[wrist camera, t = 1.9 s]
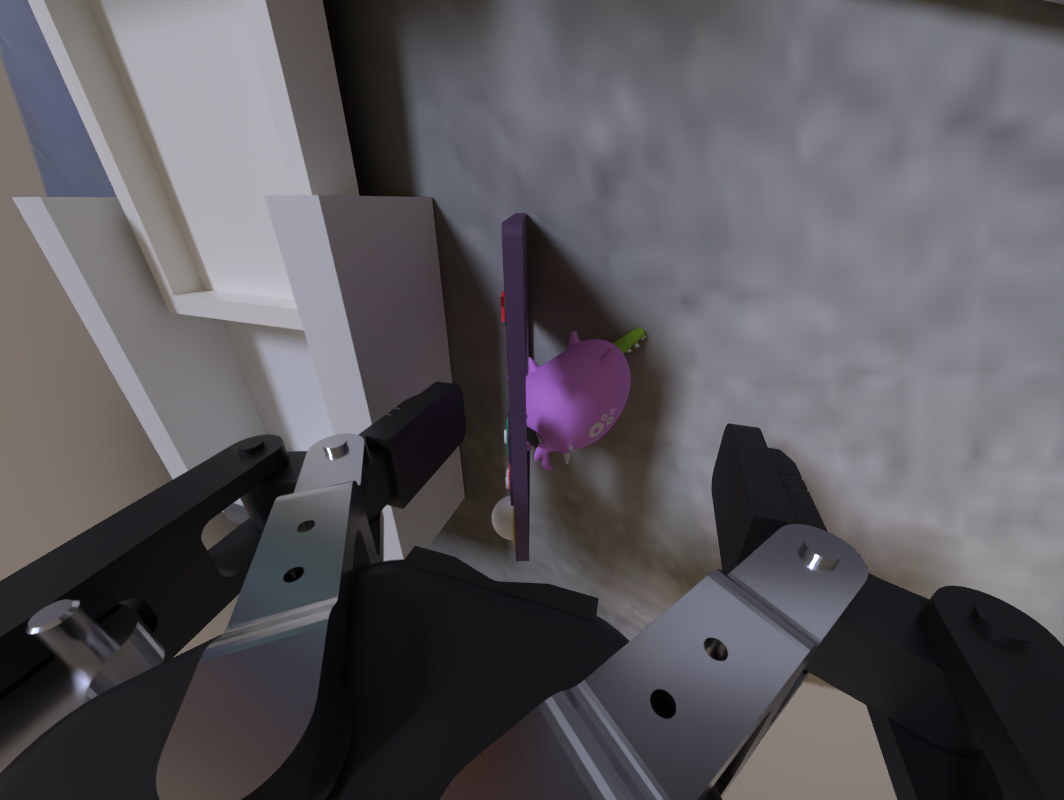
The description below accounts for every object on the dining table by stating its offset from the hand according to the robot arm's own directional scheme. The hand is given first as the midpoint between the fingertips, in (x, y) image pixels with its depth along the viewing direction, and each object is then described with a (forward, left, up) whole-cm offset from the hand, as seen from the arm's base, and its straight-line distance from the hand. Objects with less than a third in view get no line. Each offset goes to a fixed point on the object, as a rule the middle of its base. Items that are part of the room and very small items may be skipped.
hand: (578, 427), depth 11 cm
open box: (+13, +1, -3) cm, 14 cm away
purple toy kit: (+1, -1, -4) cm, 4 cm away
